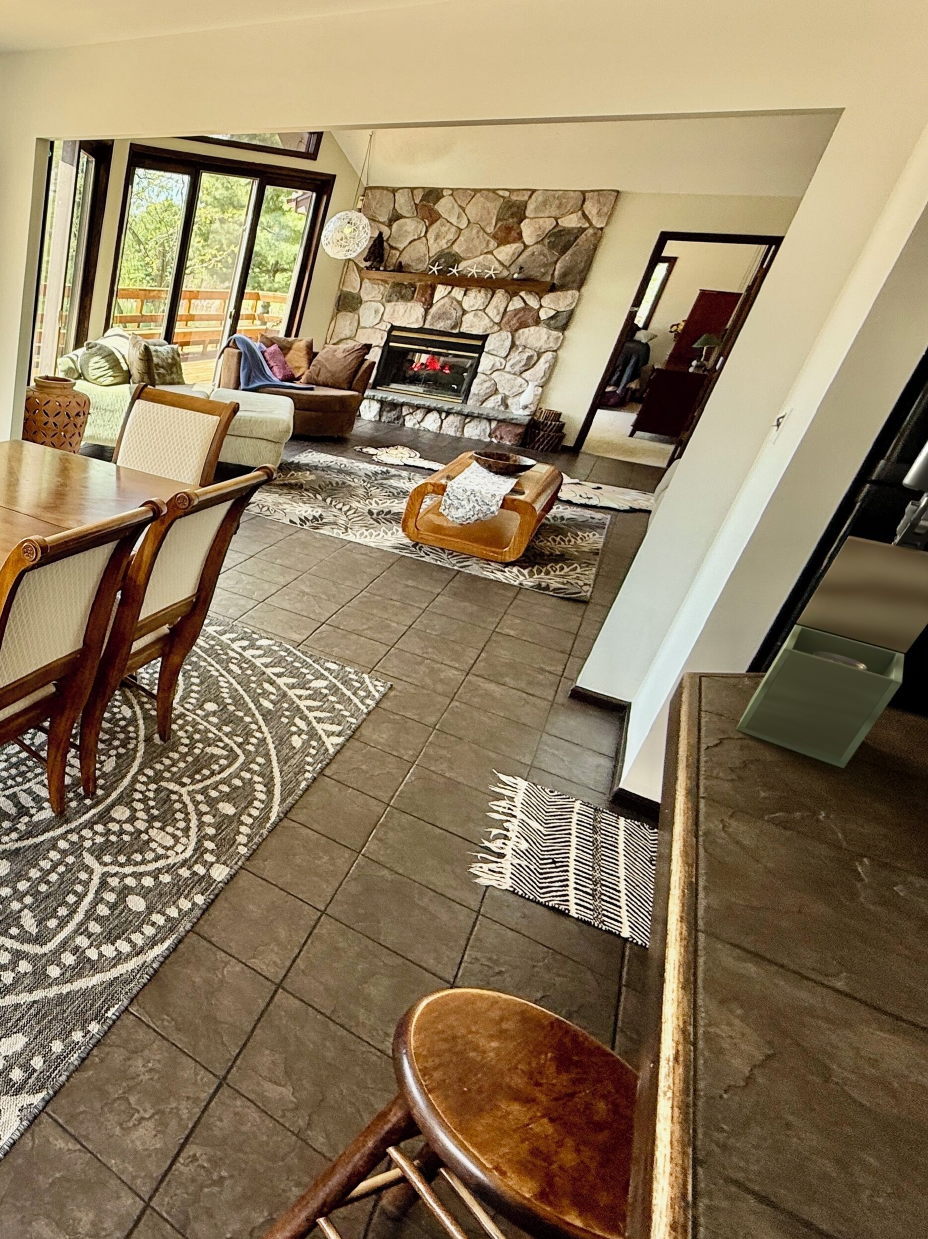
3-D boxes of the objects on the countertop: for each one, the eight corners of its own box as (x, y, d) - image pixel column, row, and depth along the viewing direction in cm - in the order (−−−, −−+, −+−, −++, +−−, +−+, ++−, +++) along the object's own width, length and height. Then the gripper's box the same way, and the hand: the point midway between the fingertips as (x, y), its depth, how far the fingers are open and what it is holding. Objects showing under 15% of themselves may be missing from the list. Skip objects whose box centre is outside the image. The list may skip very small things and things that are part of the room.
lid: (971, 564, 99) (972, 561, 100) (847, 538, 107) (849, 535, 108) (905, 653, 109) (906, 650, 110) (796, 623, 117) (797, 620, 118)
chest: (843, 768, 106) (902, 682, 100) (735, 729, 114) (784, 648, 108) (850, 734, 115) (904, 654, 110) (750, 700, 123) (795, 624, 118)
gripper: (1008, 469, 94) (927, 594, 101) (1002, 460, 102) (926, 576, 109) (920, 456, 99) (848, 575, 106) (920, 449, 107) (853, 560, 114)
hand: (888, 575), depth 108 cm, fingers closed
